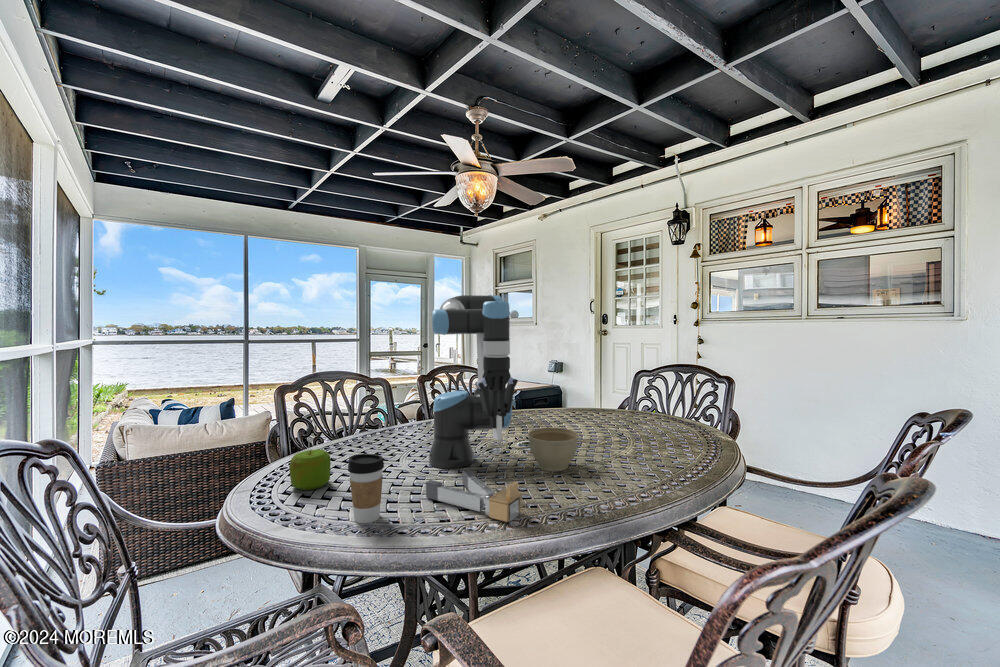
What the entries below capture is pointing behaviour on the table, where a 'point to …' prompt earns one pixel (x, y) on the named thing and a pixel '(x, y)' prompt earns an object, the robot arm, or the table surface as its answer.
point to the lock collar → (504, 502)
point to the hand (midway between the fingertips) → (497, 438)
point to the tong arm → (475, 484)
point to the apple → (310, 469)
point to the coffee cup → (366, 486)
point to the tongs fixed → (465, 498)
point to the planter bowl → (553, 447)
